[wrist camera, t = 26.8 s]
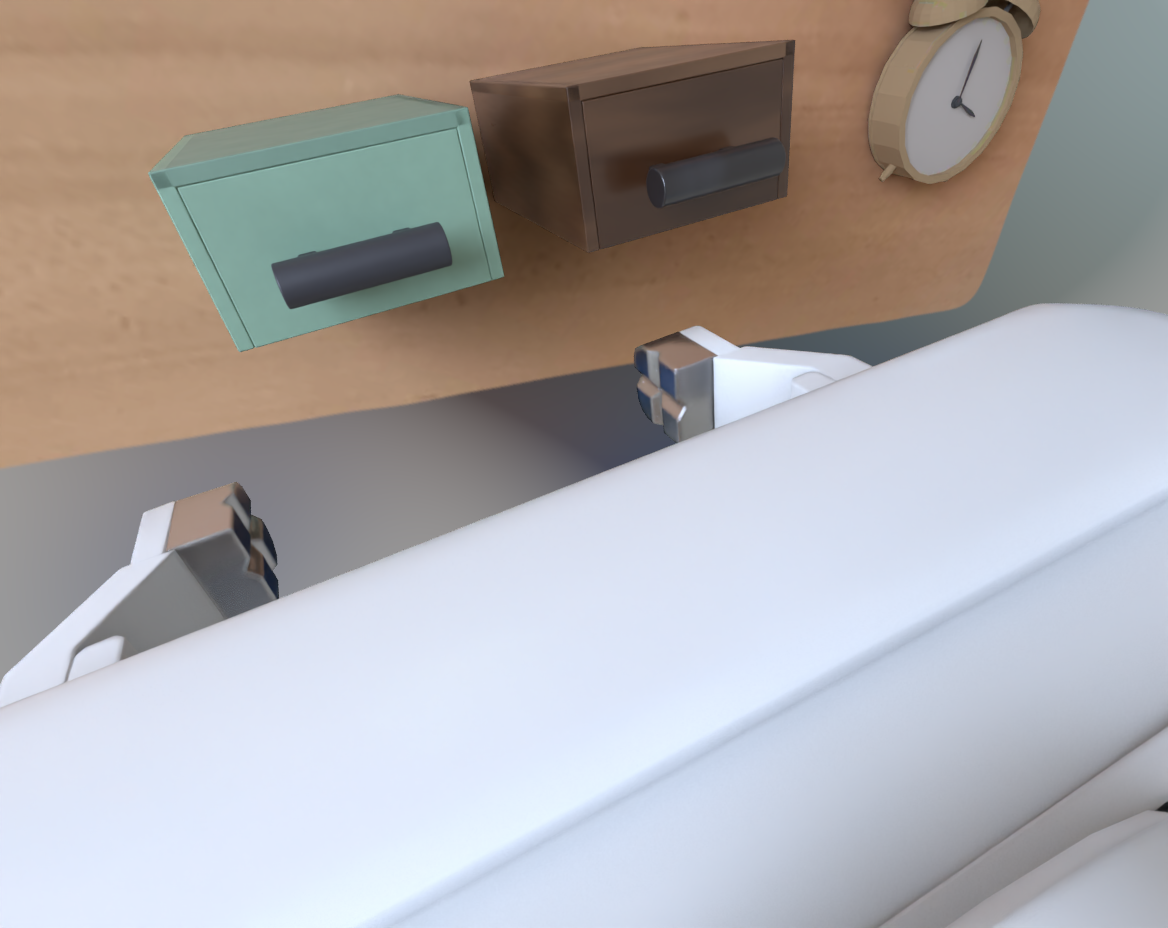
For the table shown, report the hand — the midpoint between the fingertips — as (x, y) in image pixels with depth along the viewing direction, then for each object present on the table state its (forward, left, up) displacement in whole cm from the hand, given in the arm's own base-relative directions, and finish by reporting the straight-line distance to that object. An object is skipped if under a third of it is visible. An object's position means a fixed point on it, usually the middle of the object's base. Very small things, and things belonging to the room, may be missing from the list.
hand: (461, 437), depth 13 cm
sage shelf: (-4, 0, -21) cm, 21 cm away
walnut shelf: (-4, +15, -21) cm, 26 cm away
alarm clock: (+1, +45, -29) cm, 54 cm away
